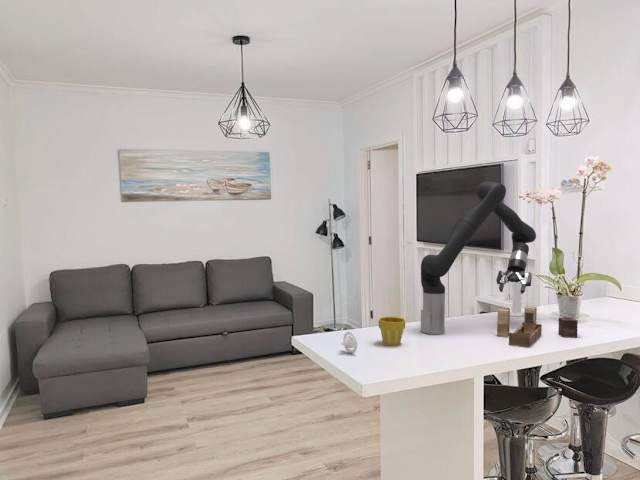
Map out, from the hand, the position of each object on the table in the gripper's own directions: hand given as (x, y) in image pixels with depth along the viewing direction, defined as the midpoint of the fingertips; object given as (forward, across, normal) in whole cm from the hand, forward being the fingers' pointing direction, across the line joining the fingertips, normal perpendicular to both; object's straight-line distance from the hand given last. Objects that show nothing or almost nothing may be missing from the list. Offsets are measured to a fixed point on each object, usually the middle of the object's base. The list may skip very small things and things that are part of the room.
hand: (511, 291), depth 223 cm
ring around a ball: (+61, -41, -38) cm, 83 cm away
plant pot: (+46, -33, -23) cm, 62 cm away
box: (+10, +22, +14) cm, 28 cm away
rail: (+22, +9, +2) cm, 24 cm away
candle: (-12, -6, +37) cm, 39 cm away
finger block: (+20, 0, +3) cm, 21 cm away
